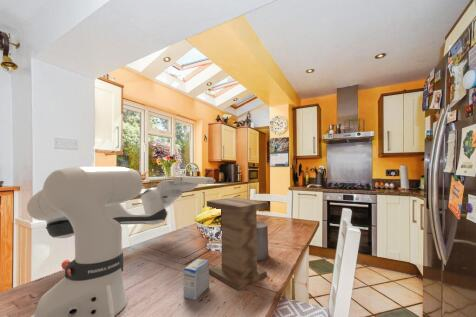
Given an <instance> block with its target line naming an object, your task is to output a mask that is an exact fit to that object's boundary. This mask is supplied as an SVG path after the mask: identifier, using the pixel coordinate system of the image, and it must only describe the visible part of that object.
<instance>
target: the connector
mask: <svg viewBox="0 0 476 317" xmlns="http://www.w3.org/2000/svg"><path fill="white" fill-rule="evenodd" d="M179 177H182V181H181V182H191V183H198V184H205V185H207V184H214V183H216V179H215V178H214V177H209V176H207V177H206V176H188V175H187V176H179Z"/></svg>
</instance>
